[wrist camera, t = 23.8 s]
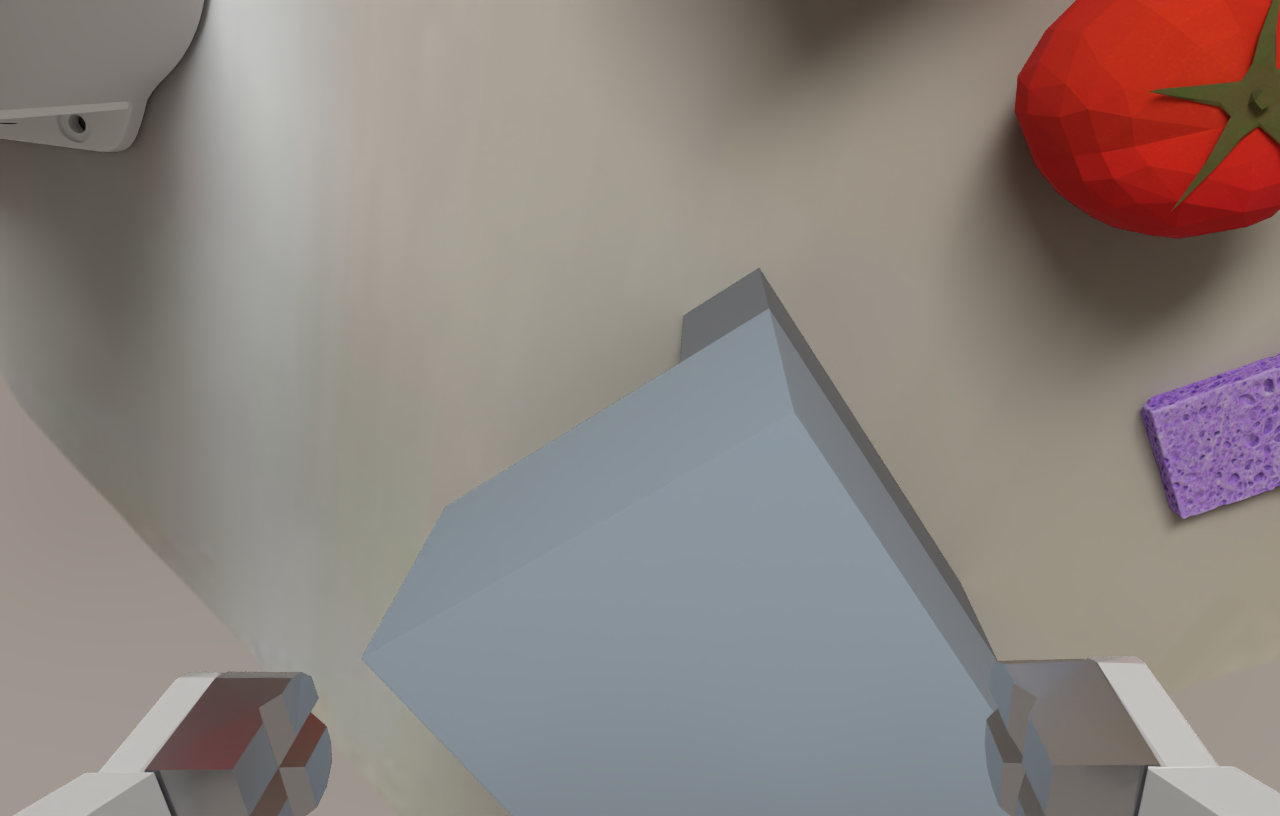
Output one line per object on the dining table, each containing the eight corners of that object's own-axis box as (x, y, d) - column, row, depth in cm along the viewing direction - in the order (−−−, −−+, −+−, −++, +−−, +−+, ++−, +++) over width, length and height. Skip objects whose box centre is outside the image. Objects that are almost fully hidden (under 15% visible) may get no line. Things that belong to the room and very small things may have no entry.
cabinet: (694, 710, 54) (690, 1005, 37) (478, 445, 47) (357, 660, 31) (960, 583, 49) (1091, 859, 32) (759, 267, 42) (794, 411, 26)
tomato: (1213, 237, 40) (1368, 296, 31) (951, 182, 40) (1026, 225, 31) (1335, -24, 36) (1559, -47, 27) (1040, -87, 36) (1161, -133, 26)
